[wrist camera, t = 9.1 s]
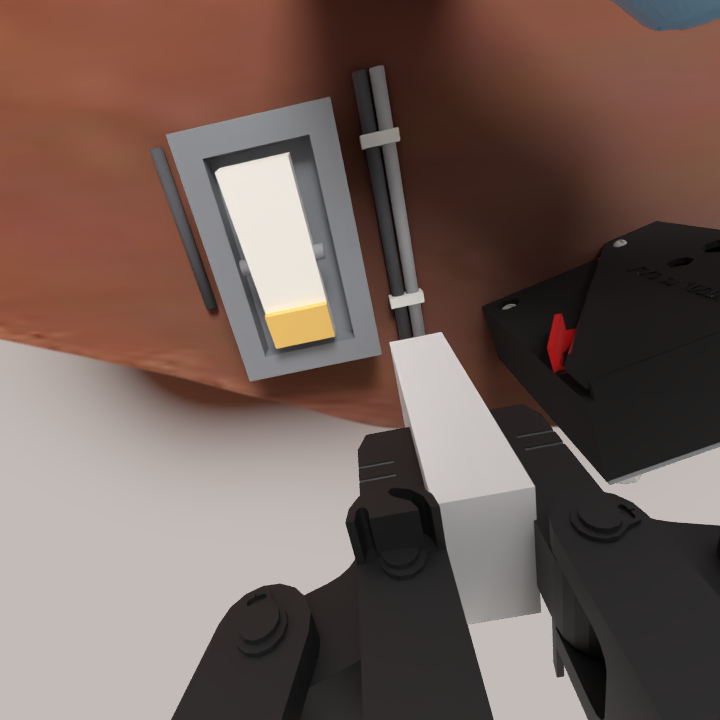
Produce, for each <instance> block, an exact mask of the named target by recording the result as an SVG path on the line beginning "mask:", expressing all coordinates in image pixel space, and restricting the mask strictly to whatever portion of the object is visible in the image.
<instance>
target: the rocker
mask: <svg viewBox="0 0 720 720" xmlns="http://www.w3.org/2000/svg"><path fill="white" fill-rule="evenodd" d="M215 175H216V178H217V181H218V183H219V186H220V189H221V192H222V194H223V197H224V200H225V203H226V206H227V208H228V211H229V214H230V217H231V219H232V222H233V225H234V228H235V231H236V233H237V236H238V239H239V242H240V244H241V247H242V250H243V253H244V256H245V258H246V259H244V260H240V262H239V264H240V269H241V272H242V274H243V276H247V275H252V278H253V281H254V283H255V286H256V289H257V292H258V294H259V297H260V300H261V303H262V306H263V308H264V311H265V314H266V315H265V320H266V322H267V325H268V328H269V331H270V333H271V336H272V339H273V342H274V344H275V347H276V349H278V348H283V347H288V346H292V345H297V344H302V343H307V342H312V341H316V340H321V339H326V338H331V337H335V324H334V321H333V317H332V313H331V309H330V305H329V301H328V298H327V294H326V290H325V286H324V282H323V278H322V275H321V271H320V267H319V263H318V260H321V259H325V252H324V248H323V244H322V243H318V244H313V240H312V236H311V232H310V229H309V225H308V221H307V217H306V213H305V210H304V206H303V202H302V198H301V194H300V190H299V187H298V183H297V179H296V175H295V171H294V167H293V164H292V160H291V156H290V152H288V153H283V154H279V155H275V156H270V157H266V158H261V159H257V160H253V161H248V162H244V163H240V164H235V165H231V166H226V167H222V168H219V169H218V170H217V171H216V172H215Z"/></svg>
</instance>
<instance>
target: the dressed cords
mask: <svg viewBox="0 0 720 720" xmlns="http://www.w3.org/2000/svg"><path fill="white" fill-rule="evenodd" d="M369 73H370V79H371V85H372V91H373V97H374V103H375V109H376V115H377V121H378V127H379V131H378V132H377V129H376V123H375V118H374V112H373V106H372V100H371V94H370V88H369V82H368V76H367V70H366V69H363V70H358V71H355V72H353V73H352V78H353V83H354V89H355V95H356V100H357V106H358V111H359V117H360V122H361V128H362V133H363V135H361V136H360V137H359V139H360V144H361V150H364V149H365V150H366V155H367V161H368V167H369V172H370V178H371V183H372V189H373V194H374V200H375V205H376V211H377V216H378V222H379V228H380V233H381V239H382V244H383V250H384V255H385V261H386V266H387V272H388V277H389V283H390V288H391V295H388V297H389V302H390V306H391V309H394V311H395V316H396V322H397V327H398V333H399V338H400V340H404V339H409V338H412V337H411V331H410V325H409V319H408V313H407V307H406V306H408V307H409V313H410V319H411V325H412V331H413V337H419V336H424V335H425V329H424V323H423V316H422V310H421V303H423V302H425V301H424V294H423V291H422V290H421V288H419V289H418V284H417V277H416V271H415V264H414V258H413V251H412V245H411V238H410V232H409V226H408V219H407V213H406V206H405V200H404V193H403V187H402V180H401V174H400V167H399V161H398V154H397V148H396V142H399V141H400V135H399V128H398V127H396V128H393V122H392V116H391V109H390V103H389V96H388V90H387V83H386V77H385V70H384V66H383V65H380V66H375V67H372V68H370V69H369ZM379 146H382V151H383V157H384V163H385V169H386V175H387V181H388V187H389V193H390V199H391V205H392V211H393V217H394V223H395V229H396V235H397V241H398V247H399V253H400V259H401V265H402V271H403V277H404V283H405V289H406V291H405V292H404V290H403V284H402V278H401V272H400V266H399V260H398V254H397V248H396V242H395V236H394V230H393V224H392V218H391V212H390V206H389V201H388V195H387V189H386V183H385V177H384V171H383V165H382V159H381V153H380V147H379Z"/></svg>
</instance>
